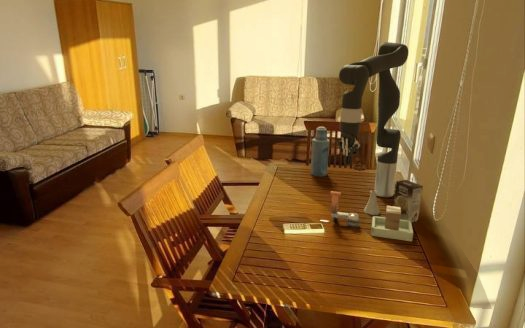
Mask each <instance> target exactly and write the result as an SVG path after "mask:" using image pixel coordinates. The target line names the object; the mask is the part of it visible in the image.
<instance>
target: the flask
mask: <svg viewBox="0 0 525 328" xmlns="http://www.w3.org/2000/svg"><path fill="white" fill-rule="evenodd" d="M369 193H370V196H369V199H368V201H367V203H366V205H365V207H364V209H363V212H364V213H365V214H366V215H371V216H379V215H380V213H381V211H380V207H379V204H378V199H377V191H374V190H370V191H369Z"/></svg>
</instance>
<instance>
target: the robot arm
mask: <svg viewBox="0 0 525 328" xmlns="http://www.w3.org/2000/svg"><path fill="white" fill-rule="evenodd" d="M408 57H409V48H408V46H407V45H406V44H403V43H400V42H399V43H398V42H397V43H396V42H390V41H389V42H388V41H387V42H382V43H381V44H380V46H379V48H378V52H377V54H376V55H372V56H369V57H367V58H365V59H363V60H361V61H356V62H352V63H351V62H350V63H347V64H345V65H343V66H342V68H341V69H340V70H339V72H338V79H339V81H340V83H342V84H343V85H349V86H350V85H351V86H353V89H352V90H349V91H345V92H343V94H342V100H341V101H342V102H341V111H340V119H339V132H340V137H339V138H336V143H337V145H338V148H339V150H340V153H342V155H343V164H344V165H345V166H350V165H351V164H352V156H356V154H357V153H358V152H359V151H360V149H361V148H362V145H363V144H362V143H360V142H359V139H358V138H359V137H358V134H359V133H360V131H361V124H362V123H361V122H362V121H361V120H362V103H363V101H362V100H363V96H364V92H365V89H366V87H367V84H368V81H369V78H372V77H373V76H375V75H377V74H378V98H377V99H378V101H377V102H378V103H377V109H378V110H377V112H378V113H377V116H378V117H377V126H376V127H377V129H376V140H375V141H376V146H377V147H379V148H383V149H384V148H386V149H391V150H390V151H387V152H383V153H380V154H378V155H377V160H376V162H377V163H376V171H375V180H374V191H377V196H378V197H381V198H390V197H393V196H394V193H395V185H396V175H397V174H396V173H397V167H398V166H397V164H398V155H399V147H400V144H401V135H402V133H401V131H400V129H397V128H395V129H393V128H385V127H386V125H387V123H388V122H389V120H390V119H391V118H392V117H393V116H394V114H395V113H396V112H397V111H398V109H399V107H400V101H401V100H400V99H401V91H400V88H399V86H398V85H397V83H396V81H395V79H394V78H393V75H392V72H391V70H392V69H395V68H399V67H402V66H403V65H405V63H406V62H407V60H408ZM377 196H376V197H377Z"/></svg>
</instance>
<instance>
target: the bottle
mask: <svg viewBox="0 0 525 328" xmlns="http://www.w3.org/2000/svg"><path fill="white" fill-rule="evenodd" d="M327 132H328V131H327V128H326V127H325V126H318V127H316V129H315V137H314V138H312V140H311V157H310V160H311V161H310V175H312V176H314V177H319V178H320V177H326V176H327V175H328V169H329V165H328V164H329V152H330V140H329V139H328V136H327Z"/></svg>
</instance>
